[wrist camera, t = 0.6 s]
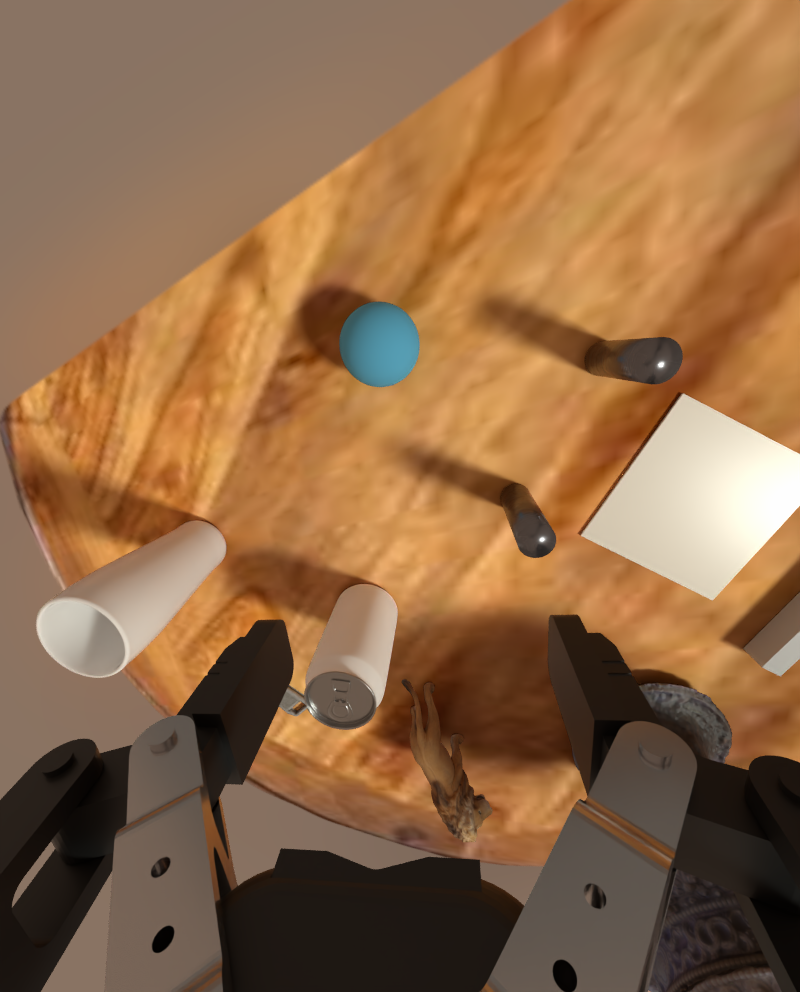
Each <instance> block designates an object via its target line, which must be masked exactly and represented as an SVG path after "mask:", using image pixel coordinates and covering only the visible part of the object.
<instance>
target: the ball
mask: <svg viewBox="0 0 800 992" xmlns="http://www.w3.org/2000/svg"><path fill="white" fill-rule="evenodd" d="M339 345H340V353H341V357H342V360H343V362H344V364H345V366H346V368H347V369H348V371H349V372H350V373H351V374H352V375H353V376H354V377H355V378H356V379H357V380H359V381H361V382H362V383H364V384H367V385H370V386H374V387H386V386H390V385H394V384H396V383H398V382H400V381H401V380H403V379H404V378H405V377H406V376H407V375H408V374H409V373H410V372H411V370H412V369H413V367H414V366H415V364H416V361H417V358H418V354H419V336H418V332H417V329H416V326H415V324H414V323H413V321H412V319H411V318H410V317H409V316H408V314H407V313H406V312H404V311H403V310H402V309H401V308H399V307H397V306H395V305H393V304H390V303H386V302H371V303H367V304H364V305H362V306H360V307H359V308H357V309H356V310H355V311H354V312H353V313H351V314H350V316H349V317H348V318H347V320H346V321H345V323H344V325H343V327H342V330H341V334H340V342H339Z"/></svg>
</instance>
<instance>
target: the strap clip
mask: <svg viewBox="0 0 800 992" xmlns="http://www.w3.org/2000/svg"><path fill="white" fill-rule="evenodd" d="M300 701H301V702H302V703H303V704H305V700H304V695H303V694H302V693H300V692H299V691H297V690H296V689H294V688H293V687H291V686H290V685H289V686H288V688H287V690H286V692H285V694H284V697H283V699H282V701H281V703H280V705H279V707H281V708H282V709H283V710H284V711H285V712H287V713H288V714H291V715H293V716H298V715H300V714H301V713H302V712H303V711H304V710H305V709H307V707H306V704H305V705H304V706H303V707H302V708H301V709H299V710H298V711H296V710H294V709H293V707H294V706H295V705H296V704H297V703H298V702H300Z"/></svg>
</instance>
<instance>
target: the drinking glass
mask: <svg viewBox="0 0 800 992" xmlns="http://www.w3.org/2000/svg"><path fill="white" fill-rule="evenodd" d="M225 555H226V542H225V539H224V537H223V535H222V534H221V532H220V531H219V530H218V529H217V528H216V527H214V526H213V525H211V524H210V523H207V522H204V521H199V520H194V521H189V522H186V523H184V524H182V525H180V526H179V527H177V528H176V529H174V530H173V531H171V532H169V533H167V534H165V535H163V536H161V537H159V538H157V539H155V540H154V541H152V542H150V543H148V544H146V545H144V546H142V547H140V548H138V549H136V550H134V551H132V552H130V553H128V554H126V555H124V556H122V557H120V558H118V559H116V560H114V561H112V562H110V563H108V564H106V565H104V566H103V567H101V568H99V569H97V570H95V571H94V572H92V573H90V574H88V575H87V576H85V577H83V578H82V579H80V580H79V581H77V582H76V583H74V584H73V585H71V586H70V587H68V588H67V589H65V590H64V591H62V592H61V593H59V594H58V595H56V596H55V597H54V598H52V599H51V600H49V601H48V602H46V603H45V604H44V605H43V606H42V607H41V609H40V610H39V612H38V614H37V618H36V630H37V634H38V637H39V640H40V641H41V644H42V645H43V647H44V648H45V650H46V651H47V652H48V654H50V656H51V657H52V658H53V659H54V660H56V661H57V662H58V663H59V664H61V665H62V666H64V667H65V668H67V669H68V670H70V671H72V672H75V673H77V674H80V675H83V676H87V677H95V678H99V677H100V678H101V677H108V676H111V675H114V674H116V673H118V672H119V671H121V670H122V669H123V668H124V667H125V666H126V665H127V664H128V663H130V662H131V661H132V660H133V659H134V658H135V657H136V656H137V655H138V654H140V653H141V652H142V651H143V650H144V649H145V648H146V647H147V646H148V645H149V644H150V643H151V642H152V641H153V640H154V639H155V638H156V637H157V636H158V635H159V634H160V633H161V631H162V630H163V629H164V628H165V627H166V626H167V625H168V623H169V622H170V621H171V620H172V619H173V617H174V616H175V615H176V614H177V613H178V611H179V610H180V609H181V608H182V607H183V605H184V604H185V603H186V602H187V601H188V599H189V598H190V597H191V596H192V595H193V593H194V592H195V591H196V590H197V589H198V587H199V586H200V585H201V584H202V583H203V582H204V580H205V579H206V578H207V577H208V576H209V574H210V573H211V572H212V571H213V570H214V569H215V568H216V567H217V566H218V565H219V564H220V563H221V562H222V561H223V559H224V557H225Z"/></svg>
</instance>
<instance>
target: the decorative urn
mask: <svg viewBox="0 0 800 992" xmlns="http://www.w3.org/2000/svg"><path fill="white" fill-rule="evenodd" d="M639 687H640V689H641V691H642V692H643V694H644V696H645V697H646V699H647V701H648V703H649V704H650V706H651V708H652V710H653V711H654V713H655V715H656V717H657V718H658V720H659V722H660V723H661V725H662V726H663V727H665V728H667V729H669V730H670V731H672V732H673V733H675V734H676V735H678V736H679V737H680V738H681V739H682V740H683V741H684V742H685V743H686V744H687V745H688V746H689V747H690V749H691V750H692V752H693V753H695V754H697V755H699V756H702V757H704V758H707V759H710V760H713V761H717V762H720V763H725V757H726V756H727V755H728V753H729V749H730V748H731V744H732V742H731V740H732V739H731V738H732V732H731V729H730V725H729V724H728V721H727V720H726V719H725V716H724V715H723V713H722V712H721V711H720V710H719V709H718V708H717V707H716V705H715V704H714V703H713V702H712V701H711V698H710V697H708V696H707V695H704V694H702V693H699V692H697V690H695V689H692V688H688V687H684V686H681V685H674V684H666V683H650V684H644V685H639ZM572 751H573V749H572ZM573 758H574V762H575V765H576V767H577V769H578V770H579V768H578V764H577V761H576V758H575V755H574V752H573ZM648 990H649V991H651V992H782V991H781V989H780V987H779V985H778V983H777V981H776V979H775V977H774V975H773V973H772V971H771V969H770V966H769V964H768V962H767V960H766V958H765V956H764V954H763V952H762V950H761V948H760V946H759V944H758V941H757V939H756V937H755V935H754V933H753V931H752V929H751V927H750V925H749V923H748V921H747V919H746V917H745V914H744V912H743V910H742V908H741V906H740V904H739V902H738V900H737V898H736V896H735V894H734V892H733V891H732V890H729V889H727V888H724V887H722V886H719V885H716V884H714V883H711V882H709V881H706V880H704V879H701V878H698V877H696V876H693V875H691V874H688V873H686V872H683V871H680V870H678V869H677V873H676V877H675V881H674V885H673V889H672V893H671V897H670V901H669V905H668V909H667V913H666V917H665V921H664V925H663V929H662V933H661V937H660V941H659V945H658V949H657V953H656V957H655V962H654V966H653V970H652V975H651V980H650V984H649V989H648Z"/></svg>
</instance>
